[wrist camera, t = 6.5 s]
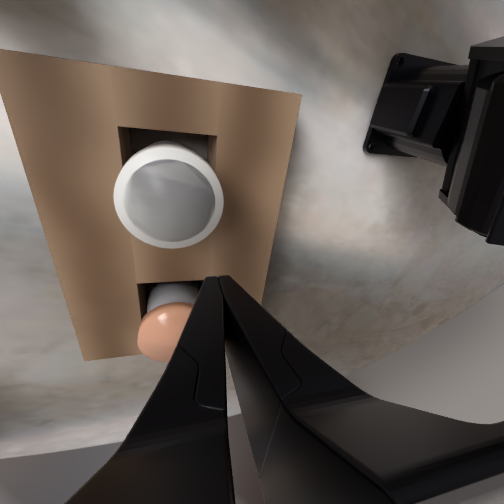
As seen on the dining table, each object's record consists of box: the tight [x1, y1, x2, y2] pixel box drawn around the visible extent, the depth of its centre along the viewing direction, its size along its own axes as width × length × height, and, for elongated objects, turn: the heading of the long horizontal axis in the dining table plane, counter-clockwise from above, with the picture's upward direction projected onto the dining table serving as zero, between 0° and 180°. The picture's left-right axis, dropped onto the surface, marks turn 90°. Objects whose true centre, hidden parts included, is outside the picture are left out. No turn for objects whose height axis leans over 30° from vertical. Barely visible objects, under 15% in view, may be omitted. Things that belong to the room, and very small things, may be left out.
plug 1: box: [113, 140, 224, 249], centre depth 14 cm, size 5×5×4 cm
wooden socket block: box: [0, 49, 302, 361], centre depth 20 cm, size 14×20×4 cm
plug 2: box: [137, 281, 199, 362], centre depth 20 cm, size 5×5×4 cm
